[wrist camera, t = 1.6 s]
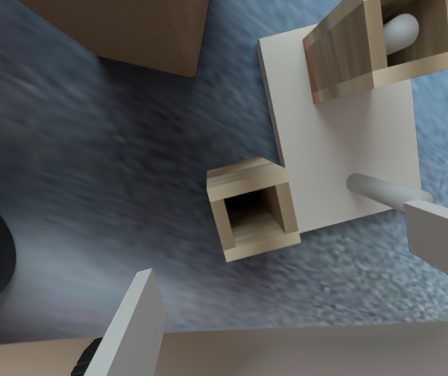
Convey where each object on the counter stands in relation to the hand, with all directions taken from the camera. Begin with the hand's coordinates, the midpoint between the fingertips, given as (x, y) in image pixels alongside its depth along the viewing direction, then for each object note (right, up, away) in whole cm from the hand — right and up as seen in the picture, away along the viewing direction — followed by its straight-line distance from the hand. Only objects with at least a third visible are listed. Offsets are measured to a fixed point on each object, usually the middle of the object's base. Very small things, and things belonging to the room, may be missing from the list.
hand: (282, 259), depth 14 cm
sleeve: (-1, +3, +16) cm, 17 cm away
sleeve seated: (+8, +16, +12) cm, 21 cm away
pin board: (+9, +10, +16) cm, 21 cm away
